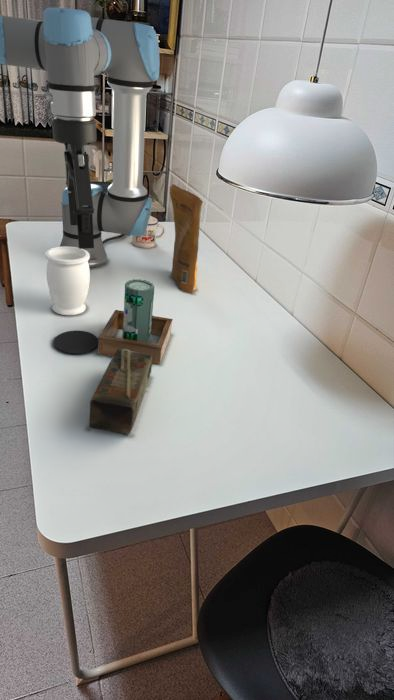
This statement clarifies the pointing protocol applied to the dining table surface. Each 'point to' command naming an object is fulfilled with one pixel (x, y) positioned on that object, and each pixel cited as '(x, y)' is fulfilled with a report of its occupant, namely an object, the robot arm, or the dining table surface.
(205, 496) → the dining table surface
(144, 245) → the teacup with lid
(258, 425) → the dining table surface
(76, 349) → the coaster
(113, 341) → the wooden square frame
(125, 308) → the can
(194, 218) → the pancake mix bag
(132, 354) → the beverage carton
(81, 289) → the jar
